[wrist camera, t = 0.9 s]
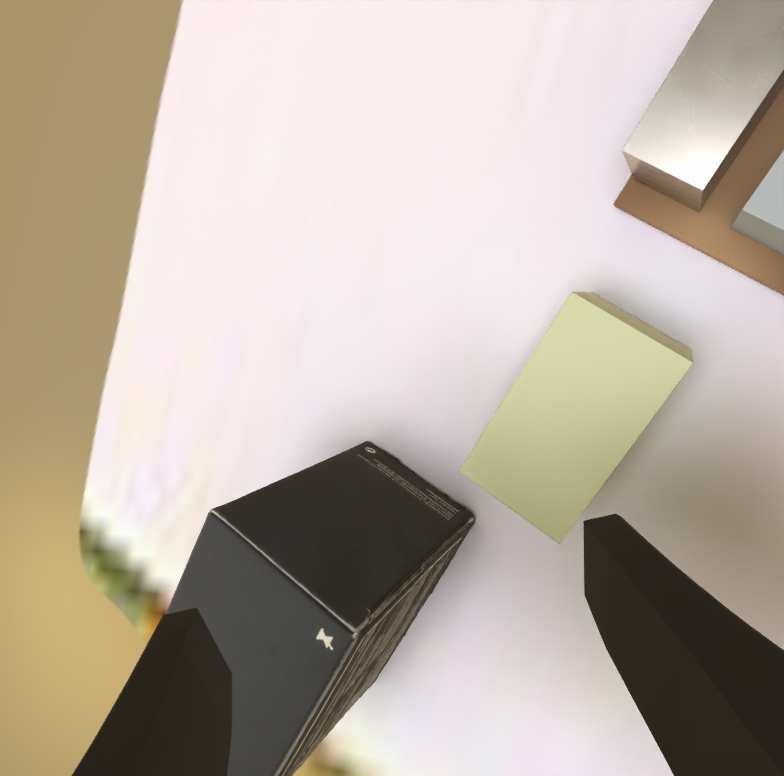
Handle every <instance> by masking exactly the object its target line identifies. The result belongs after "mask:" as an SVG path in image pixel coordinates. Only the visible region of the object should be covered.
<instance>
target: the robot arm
mask: <svg viewBox="0 0 784 776" xmlns="http://www.w3.org/2000/svg"><path fill="white" fill-rule="evenodd" d="M584 586H585V597H586V599H587V602H588V604H589V607H590V610H591V612H592V615H593V617H594V620H595V622H596V625H597V627H598V630H599V632H600V634H601V637H602V639H603V642H604V644H605V647H606V649H607V651H608V653H609V654H610V656H611V658H612V660H613V662H614V664H615V666H616V668H617V670H618V672H619V673H620V675H621V677H622V679H623V681H624V683H625V685H626V687H627V688H628V690H629V692H630V694H631V696H632V698H633V700H634V702H635V703H636V705H637V707H638V709H639V711H640V713H641V715H642V716H643V718H644V720H645V722H646V724H647V726H648V728H649V729H650V731H651V733H652V735H653V737H654V739H655V741H656V742H657V744H658V746H659V748H660V750H661V752H662V754H663V755H664V757H665V759H666V761H667V763H668V765H669V767H670V769H671V771H672V773H673V775H674V776H784V650H783V649H781V648H780V647H778V646H777V645H776V644H774V643H773V642H771V641H770V640H769V639H767V638H766V637H765V636H763V635H762V634H761V633H759V632H758V631H757V630H755V629H754V628H752V627H751V626H750V625H748V624H747V623H746V622H744V621H743V620H742V619H741V618H739V617H738V616H737V615H735V614H734V613H733V612H731V611H730V610H729V609H728V608H726V607H725V606H724V605H723V604H721V603H720V602H719V601H718V600H716V599H715V598H714V597H713V596H711V595H710V594H709V593H708V592H707V591H705V590H704V589H703V588H702V587H700V586H699V585H698V584H697V583H695V582H694V581H693V580H692V579H691V578H689V577H688V576H687V575H686V574H685V573H683V572H682V571H681V570H680V569H679V568H678V567H676V566H675V565H674V564H673V563H672V562H671V561H670V560H668V559H667V558H666V557H665V556H664V555H663V554H662V553H660V552H659V551H658V550H657V549H656V548H655V547H654V546H653V545H651V544H650V543H649V542H648V541H647V540H646V539H645V538H644V537H643V536H641V535H640V534H639V533H638V532H637V531H636V530H635V529H634V528H633V527H632V526H631V525H630V524H628V523H627V522H626V521H625V520H624V519H623V518H622V517H621V516H619V515H617V514H613V515H608V516H604V517H599V518H595V519H590V520H586V521H584ZM231 735H232V673H231V671H230V669H229V667H228V665H227V663H226V662H225V660H224V658H223V656H222V654H221V652H220V650H219V648H218V646H217V644H216V643H215V641H214V639H213V637H212V635H211V633H210V631H209V629H208V627H207V625H206V624H205V622H204V620H203V618H202V616H201V614H200V612H199V610H198V608H192V609H188V610H183V611H179V612H175V613H170V614H166V615H164V616H163V617H162V619H161V620H160V622H159V624H158V625H157V627H156V629H155V631H154V633H153V635H152V636H151V638H150V640H149V642H148V644H147V646H146V648H145V650H144V652H143V653H142V655H141V657H140V659H139V661H138V662H137V664H136V666H135V668H134V670H133V672H132V673H131V675H130V677H129V679H128V681H127V683H126V684H125V686H124V688H123V690H122V692H121V693H120V695H119V697H118V699H117V701H116V702H115V704H114V706H113V707H112V709H111V711H110V713H109V714H108V716H107V718H106V720H105V721H104V723H103V725H102V726H101V728H100V730H99V732H98V733H97V735H96V737H95V739H94V740H93V742H92V744H91V745H90V747H89V749H88V750H87V752H86V753H85V755H84V757H83V758H82V760H81V761H80V763H79V765H78V766H77V768H76V769H75V771H74V773H73V774H72V776H227V771H228V762H229V754H230V745H231Z"/></svg>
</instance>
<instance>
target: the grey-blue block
mask: <svg viewBox="0 0 784 776" xmlns="http://www.w3.org/2000/svg"><path fill="white" fill-rule="evenodd" d="M730 229H732V230H734V231H736V232H738V233H740V234H742V235H744V236H746V237H748V238H750V239H752V240H754V241H756V242H758V243H760V244H762V245H764V246H766V247H768V248H769V249H771V250H773V251H775V252H777V253H779V254H781V255H783V256H784V150H783V152H782V153H781V155H780V156H779V158H778V159H777V160H776V162H775V163H774V165H773V166H772V168H771V169H770V170H769V172H768V173H767V175H766V176H765V178H764V179H763V181H762V182H761V183H760V185H759V186H758V188H757V189H756V191H755V192H754V193H753V195H752V196H751V198H750V199H749V201H748V202H747V203H746V205H745V206H744V208H743V209H742V211H741V212H740V214H739V215H738V217H737V218H736V220H735V221H734V223H733V224H732V226H731V227H730Z"/></svg>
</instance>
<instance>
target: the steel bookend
mask: <svg viewBox="0 0 784 776" xmlns="http://www.w3.org/2000/svg"><path fill="white" fill-rule="evenodd" d="M783 88H784V0H713V2H712V3H711V5H710V7H709V8H708V10H707V11H706V13H705V15H704V16H703V18H702V20H701V21H700V23H699V25H698V26H697V28H696V30H695V31H694V33H693V35H692V36H691V38H690V39H689V41H688V43H687V44H686V46H685V48H684V49H683V51H682V53H681V54H680V56H679V58H678V59H677V61H676V63H675V64H674V66H673V67H672V69H671V71H670V72H669V74H668V76H667V77H666V79H665V81H664V82H663V84H662V86H661V87H660V89H659V90H658V92H657V94H656V95H655V97H654V99H653V100H652V102H651V104H650V105H649V107H648V109H647V110H646V112H645V114H644V115H643V117H642V118H641V120H640V122H639V123H638V125H637V127H636V128H635V130H634V132H633V133H632V135H631V137H630V138H629V140H628V141H627V143H626V145H625V146H624V148H623V150H622V151H623V154H624V156H625V158H626V161H627V163H628V165H629V167H630V170H631V172H632V174H633V177H634V179H635V181H637V182H639V183H641V184H643V185H645V186H647V187H649V188H651V189H653V190H655V191H657V192H659V193H661V194H663V195H665V196H667V197H669V198H671V199H673V200H675V201H677V202H679V203H681V204H683V205H685V206H687V207H689V208H691V209H693V210H695V211H697V212H698V213H699V212H700V211H701V209H702V208H703V206H704V205H705V203H706V202H707V200H708V199H709V197H710V196H711V194H712V193H713V191H714V190H715V188H716V187H717V185H718V184H719V182H720V181H721V179H722V178H723V177H724V175H725V174H726V172H727V171H728V169H729V168H730V166H731V165H732V163H733V162H734V160H735V159H736V157H737V156H738V154H739V153H740V151H741V150H742V148H743V147H744V145H745V144H746V142H747V141H748V139H749V138H750V137H751V135H752V134H753V132H754V131H755V129H756V128H757V126H758V125H759V123H760V122H761V120H762V119H763V117H764V116H765V114H766V113H767V111H768V110H769V108H770V107H771V105H772V104H773V102H774V101H775V99H776V98H777V97H778V95H779V94H780V92H781V91H782V89H783Z"/></svg>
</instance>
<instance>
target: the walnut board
mask: <svg viewBox="0 0 784 776" xmlns="http://www.w3.org/2000/svg"><path fill="white" fill-rule="evenodd" d="M783 150H784V88H783V89H782V91H781V92H780V94H779V95H778V97H777V98H776V99H775V101H774V102H773V104H772V105H771V107H770V108H769V110H768V111H767V113H766V114H765V116H764V117H763V119H762V120H761V122H760V123H759V125H758V126H757V128H756V129H755V131H754V132H753V134H752V135H751V137H750V138H749V139H748V141H747V142H746V144H745V145H744V147H743V148H742V150H741V151H740V153H739V154H738V156H737V157H736V159H735V160H734V162H733V163H732V165H731V166H730V168H729V169H728V171H727V172H726V174H725V175H724V177H723V178H722V179H721V181H720V182H719V184H718V185H717V187H716V188H715V190H714V191H713V193H712V194H711V196H710V197H709V199H708V200H707V202H706V203H705V205H704V206H703V208H702V209H701V211H700V212H699V213H698V212H697V211H695V210H693V209H691V208H689V207H687V206H685V205H683V204H681V203H679V202H677V201H675V200H673V199H671V198H669V197H667V196H665V195H663V194H661V193H659V192H657V191H655V190H653V189H651V188H649V187H647V186H645V185H643V184H641V183H639V182H637V181H635V179H634V177H633V174H632V175H631V177H630V179H629V180H628V182H627V183H626V185H625V187H624V188H623V190H622V191H621V193H620V195H619V196H618V198H617V199H616V201H615V203H614V206H615V207H617V208H619V209H621V210H623V211H625V212H627V213H629V214H631V215H632V216H634V217H636V218H638V219H640V220H642V221H644V222H646V223H648V224H650V225H651V226H653V227H655V228H657V229H659V230H661V231H663V232H665V233H667V234H669V235H670V236H672V237H674V238H676V239H678V240H680V241H682V242H684V243H686V244H688V245H690V246H691V247H693V248H695V249H697V250H699V251H701V252H703V253H705V254H707V255H709V256H710V257H712V258H714V259H716V260H718V261H720V262H722V263H724V264H726V265H728V266H729V267H731V268H733V269H735V270H737V271H739V272H741V273H743V274H745V275H747V276H748V277H750V278H752V279H754V280H756V281H758V282H760V283H762V284H764V285H766V286H768V287H769V288H771V289H773V290H775V291H777V292H779V293H781V294H783V295H784V256H783V255H781V254H779V253H777V252H775V251H773V250H771V249H769V248H768V247H766V246H764V245H762V244H760V243H758V242H756V241H754V240H752V239H750V238H748V237H746V236H744V235H742V234H740V233H738V232H736V231H734V230H732V229H730V227H731V226H732V224H733V223H734V221H735V220H736V218H737V217H738V215H739V214H740V212H741V211H742V209H743V208H744V206H745V205H746V203H747V202H748V201H749V199H750V198H751V196H752V195H753V193H754V192H755V191H756V189H757V188H758V186H759V185H760V183H761V182H762V181H763V179H764V178H765V176H766V175H767V173H768V172H769V170H770V169H771V168H772V166H773V165H774V163H775V162H776V160H777V159H778V158H779V156H780V155H781V153H782V152H783Z"/></svg>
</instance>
